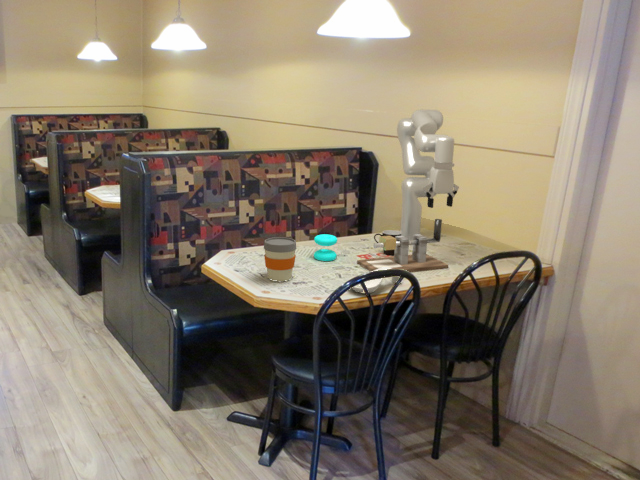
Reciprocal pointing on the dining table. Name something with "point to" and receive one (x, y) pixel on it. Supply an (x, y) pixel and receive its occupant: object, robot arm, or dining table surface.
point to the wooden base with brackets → (406, 257)
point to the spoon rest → (374, 282)
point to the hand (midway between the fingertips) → (439, 206)
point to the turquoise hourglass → (325, 253)
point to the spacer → (388, 242)
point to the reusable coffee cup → (279, 257)
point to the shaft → (411, 242)
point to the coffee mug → (389, 233)
